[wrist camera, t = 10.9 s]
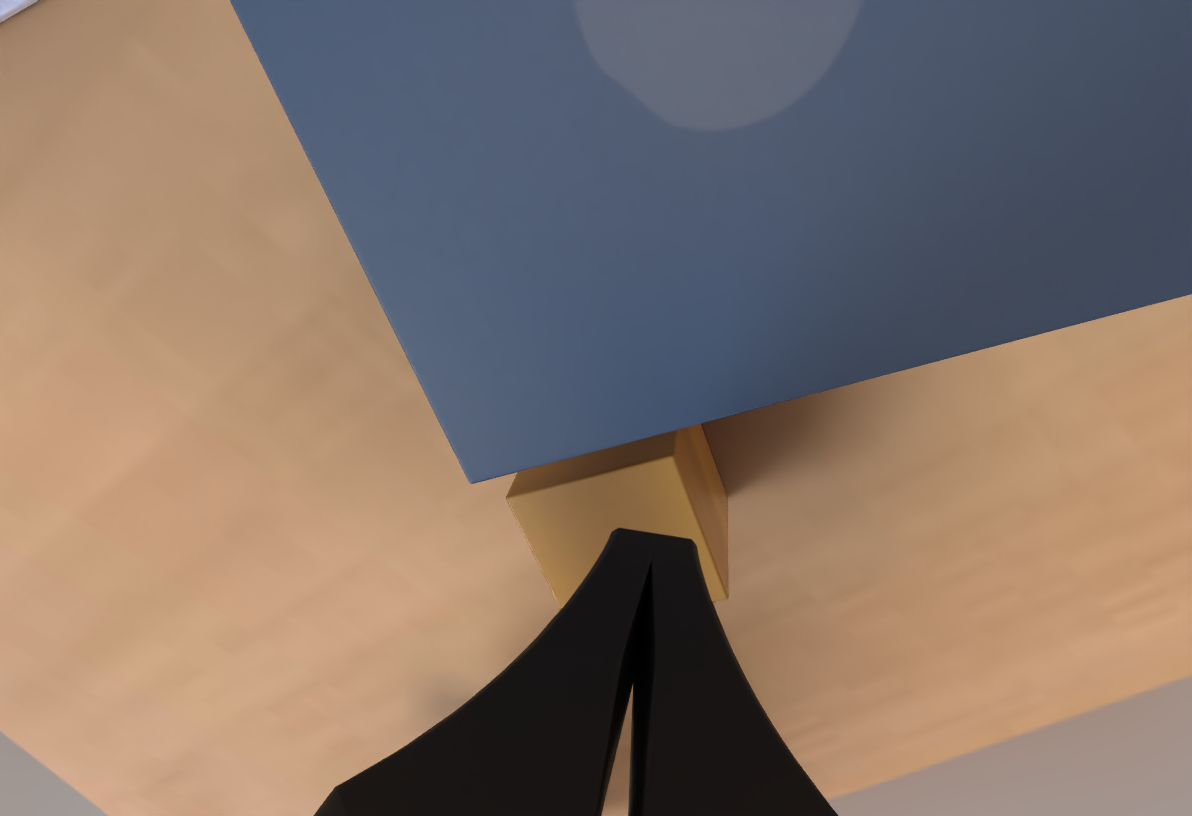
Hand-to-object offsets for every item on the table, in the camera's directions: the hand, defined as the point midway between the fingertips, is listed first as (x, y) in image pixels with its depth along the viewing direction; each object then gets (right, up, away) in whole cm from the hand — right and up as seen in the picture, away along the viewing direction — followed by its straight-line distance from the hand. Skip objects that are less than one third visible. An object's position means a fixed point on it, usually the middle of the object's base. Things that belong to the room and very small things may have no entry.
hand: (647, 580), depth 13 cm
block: (0, +1, +10) cm, 10 cm away
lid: (+2, +8, -1) cm, 8 cm away
